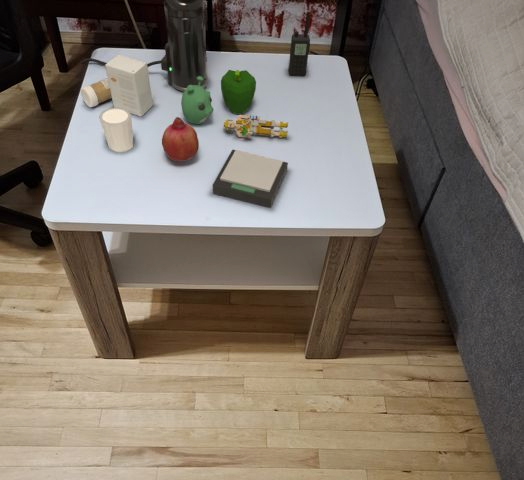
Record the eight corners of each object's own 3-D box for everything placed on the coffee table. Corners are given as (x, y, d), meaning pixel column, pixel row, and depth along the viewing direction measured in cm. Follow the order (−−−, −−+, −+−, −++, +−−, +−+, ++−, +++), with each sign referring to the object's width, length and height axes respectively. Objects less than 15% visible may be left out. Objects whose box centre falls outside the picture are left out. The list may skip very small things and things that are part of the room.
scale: (212, 193, 108) (212, 182, 105) (232, 158, 115) (232, 146, 112) (270, 208, 106) (271, 197, 104) (286, 171, 113) (288, 160, 111)
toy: (287, 138, 117) (223, 132, 115) (284, 145, 122) (222, 139, 120) (289, 115, 116) (224, 108, 115) (286, 123, 122) (224, 116, 120)
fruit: (158, 166, 112) (153, 125, 103) (170, 145, 116) (166, 104, 108) (193, 173, 111) (191, 132, 103) (204, 152, 115) (202, 111, 107)
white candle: (130, 155, 113) (124, 127, 107) (100, 150, 114) (93, 122, 108) (140, 138, 117) (135, 109, 111) (111, 133, 117) (105, 104, 112)
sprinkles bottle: (136, 92, 128) (91, 112, 123) (125, 78, 128) (79, 97, 123) (138, 79, 124) (91, 98, 119) (126, 64, 124) (79, 83, 119)
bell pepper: (231, 95, 129) (231, 54, 121) (259, 104, 127) (261, 64, 119) (214, 111, 125) (213, 70, 116) (244, 121, 123) (245, 80, 115)
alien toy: (204, 134, 119) (202, 93, 111) (177, 124, 121) (173, 83, 112) (219, 120, 123) (218, 79, 114) (192, 110, 124) (190, 69, 116)
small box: (153, 106, 124) (148, 62, 116) (141, 117, 121) (134, 73, 113) (126, 97, 126) (118, 53, 117) (113, 108, 123) (104, 64, 114)
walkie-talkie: (289, 76, 136) (295, 14, 123) (288, 69, 137) (293, 8, 125) (306, 76, 136) (314, 15, 123) (305, 69, 138) (313, 8, 125)
